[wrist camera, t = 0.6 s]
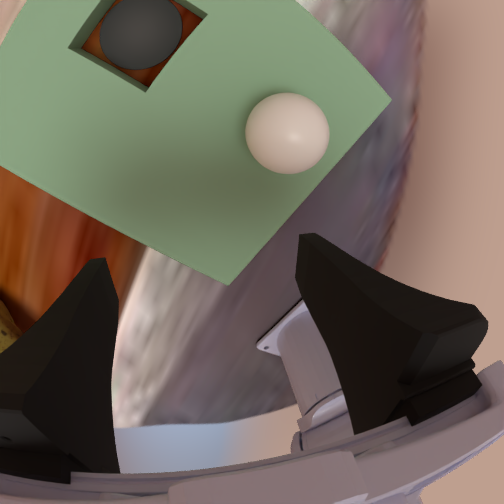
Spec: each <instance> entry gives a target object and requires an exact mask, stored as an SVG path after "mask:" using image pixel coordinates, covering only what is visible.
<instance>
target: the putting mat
mask: <svg viewBox="0 0 504 504" xmlns="http://www.w3.org/2000/svg"><path fill="white" fill-rule="evenodd" d="M115 1H116V0H27V2H26V3H25V5H24V6H23V8H22V9H21V11H20V13H19V14H18V16H17V18H16V19H15V21H14V23H13V24H12V26H11V28H10V30H9V31H8V33H7V35H6V37H5V39H4V41H3V43H2V44H1V46H0V166H2V167H4V168H6V169H7V170H9V171H11V172H12V173H14V174H16V175H18V176H19V177H21V178H23V179H24V180H26V181H28V182H30V183H31V184H33V185H35V186H37V187H39V188H40V189H42V190H44V191H46V192H47V193H49V194H51V195H53V196H55V197H56V198H58V199H60V200H62V201H64V202H65V203H67V204H69V205H71V206H73V207H75V208H76V209H78V210H80V211H82V212H84V213H86V214H87V215H89V216H91V217H93V218H95V219H97V220H99V221H101V222H102V223H104V224H106V225H108V226H110V227H112V228H114V229H116V230H118V231H119V232H121V233H123V234H125V235H127V236H129V237H131V238H133V239H135V240H137V241H139V242H141V243H143V244H145V245H147V246H148V247H150V248H152V249H154V250H156V251H158V252H160V253H162V254H164V255H166V256H168V257H170V258H172V259H174V260H176V261H178V262H180V263H182V264H184V265H186V266H188V267H190V268H192V269H194V270H196V271H198V272H200V273H202V274H204V275H207V276H209V277H211V278H213V279H215V280H217V281H219V282H221V283H223V284H225V285H227V286H229V285H230V284H231V282H232V281H233V280H234V279H235V278H236V277H237V276H238V274H239V273H240V272H241V271H242V270H243V269H244V268H245V267H246V265H247V264H248V263H249V262H250V261H251V260H252V259H253V258H254V256H255V255H256V254H257V253H258V252H259V251H260V250H261V249H262V247H263V246H264V245H265V244H266V243H267V242H268V241H269V240H270V238H271V237H272V236H273V235H274V234H275V233H276V232H277V230H278V229H279V228H280V227H281V226H282V225H283V224H284V223H285V221H286V220H287V219H288V218H289V217H290V216H291V215H292V213H293V212H294V211H295V210H296V209H297V208H298V207H299V206H300V204H301V203H302V202H303V201H304V200H305V199H306V198H307V196H308V195H309V194H310V193H311V192H312V191H313V190H314V189H315V187H316V186H317V185H318V184H319V183H320V182H321V181H322V179H323V178H324V177H325V176H326V175H327V174H328V173H329V171H330V170H331V169H332V168H333V167H334V166H335V165H336V163H337V162H338V161H339V160H340V159H341V158H342V157H343V156H344V154H345V153H346V152H347V151H348V150H349V149H350V148H351V146H352V145H353V144H354V143H355V142H356V141H357V140H358V138H359V137H360V136H361V135H362V134H363V133H364V132H365V130H366V129H367V128H368V127H369V126H370V125H371V124H372V122H373V121H374V120H375V119H376V118H377V117H378V116H379V114H380V113H381V112H382V111H383V110H384V109H385V108H386V106H387V105H388V104H389V103H390V102H391V101H392V100H391V98H390V97H389V96H388V95H387V94H386V92H385V91H384V90H383V89H382V88H381V86H380V85H379V84H378V83H377V82H376V80H375V79H374V78H373V77H372V76H371V75H370V74H369V72H368V71H367V70H366V69H365V68H364V67H363V66H362V65H361V63H360V62H359V61H358V60H357V59H356V58H355V57H354V56H353V55H352V54H351V53H350V52H349V51H348V50H347V49H346V48H345V47H344V45H343V44H342V43H341V42H340V41H339V40H338V39H337V38H336V37H335V36H334V35H333V34H331V33H330V32H329V31H328V30H327V29H326V28H325V27H324V26H323V25H322V24H321V23H320V22H319V21H318V20H317V19H316V18H315V17H313V16H312V15H311V14H310V13H309V12H308V11H307V10H306V9H304V8H303V7H302V6H301V5H300V4H299V3H298V2H296V1H295V0H174V1H175V2H177V3H179V4H180V5H182V6H183V7H185V8H187V9H188V10H190V11H191V12H193V13H194V14H196V15H197V16H199V17H201V18H202V19H204V20H203V21H202V22H201V23H200V24H199V25H198V26H197V27H196V29H195V30H194V31H193V32H192V33H191V34H190V36H189V37H188V38H187V39H186V40H185V42H184V43H183V44H182V45H181V46H180V48H179V49H178V50H177V51H176V53H175V54H174V55H173V56H172V58H171V59H170V60H169V62H168V63H167V64H166V65H165V67H164V68H163V69H162V71H161V72H160V73H159V75H158V76H157V77H156V79H155V80H154V82H153V83H152V84H151V86H150V87H149V88H148V87H147V86H145V85H143V84H142V83H140V82H138V81H137V80H135V79H133V78H132V77H130V76H128V75H127V74H125V73H123V72H122V71H120V70H118V69H116V68H115V67H113V66H111V65H110V64H108V63H106V62H104V61H103V60H101V59H99V58H97V57H95V56H94V55H92V54H90V53H88V52H86V51H85V50H83V49H81V48H82V46H83V45H84V43H85V42H86V40H87V39H88V37H89V36H90V34H91V33H92V31H93V30H94V29H95V27H96V26H97V24H98V23H99V22H100V20H101V19H102V18H103V16H104V15H105V14H106V12H107V11H108V10H109V8H110V7H111V6H112V4H113V3H114V2H115ZM181 34H182V21H181V17H180V14H179V12H178V10H177V9H176V7H175V6H174V5H173V4H172V3H171V2H170V1H168V0H123V1H121V2H119V3H118V4H117V5H115V6H114V7H113V8H112V9H111V10H110V11H109V13H108V14H107V15H106V17H105V19H104V21H103V23H102V26H101V29H100V44H101V48H102V50H103V52H104V54H105V55H106V57H107V58H108V59H109V60H110V61H111V62H113V63H114V64H115V65H117V66H120V67H122V68H126V69H133V70H138V69H145V68H149V67H152V66H154V65H157V64H159V63H160V62H162V61H163V60H165V59H166V58H167V57H168V56H170V54H171V53H172V52H173V51H174V50H175V48H176V47H177V45H178V43H179V40H180V38H181ZM277 93H296V94H300V95H302V96H305V97H307V98H308V99H310V100H312V101H313V102H314V103H316V104H317V105H318V107H319V108H320V109H321V110H322V112H323V113H324V115H325V117H326V119H327V122H328V125H329V133H330V134H329V143H328V147H327V149H326V151H325V153H324V155H323V157H322V158H321V159H320V160H319V161H318V162H317V164H315V165H314V166H313V167H311V168H310V169H308V170H306V171H303V172H300V173H296V174H281V173H276V172H273V171H271V170H269V169H267V168H265V167H263V166H262V165H261V164H260V163H259V162H258V161H257V160H256V159H255V158H254V157H253V155H252V154H251V152H250V150H249V148H248V146H247V142H246V136H245V129H246V123H247V120H248V117H249V115H250V113H251V111H252V110H253V109H254V107H255V106H256V105H257V104H258V103H259V102H260V101H262V100H263V99H265V98H266V97H269V96H271V95H274V94H277Z"/></svg>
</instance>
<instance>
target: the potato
mask: <svg viewBox="0 0 504 504" xmlns="http://www.w3.org/2000/svg"><path fill="white" fill-rule="evenodd" d="M23 334H24V333H23V332H22V331H21V330H20V329H19V328H18V327H17V326H16V325H15V323H14V321H13V319H12V317H11V315H10V313H9V311H8V309H7V307H6V306H5V304H4V303H3V302H2V301H1V300H0V353H2V352H3V351H4V350H5V349H7V348H8V347H9V346H10V345H12V344H13V343H14V342H15V341H16V340H17V339H18V338H20V337H21V336H22V335H23Z"/></svg>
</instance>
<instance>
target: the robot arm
mask: <svg viewBox="0 0 504 504" xmlns="http://www.w3.org/2000/svg"><path fill="white" fill-rule="evenodd" d="M295 278H296V281H297V284H298V287H299V290H300V293H301V296H302V300H301V301H300V302H299V303H298V304H297V305H296V306H295V307H294V308H293V309H292V310H291V311H290V312H289V313H288V314H287V315H286V316H285V317H284V318H283V319H282V320H281V321H280V322H279V323H278V324H277V325H276V326H275V327H273V328H272V329H271V330H270V331H269V332H268V333H267V334H266V335H265V336H264V337H263V338H262V339H261V340H260V341H259V342H258V343H257V348H258V349H260V350H263V351H266V352H269V353H272V354H275V355H278V356H281V359H282V362H283V364H284V367H285V370H286V373H287V376H288V378H289V381H290V384H291V387H292V390H293V392H294V395H295V398H296V401H297V403H298V406H299V409H300V412H301V415H302V418H300V419H298V420H297V423H298V426H299V429H300V431H299V432H296V433H295V434H294V436H293V440H292V443H291V454H287V455H283V456H278V457H274V458H269V459H264V460H259V461H254V462H248V463H243V464H237V465H230V466H224V467H216V468H209V469H200V470H191V471H179V472H165V473H141V474H120V468H119V463H118V458H117V452H116V445H115V436H114V428H113V415H112V395H111V378H112V367H113V358H114V350H115V343H116V335H117V328H118V308H119V299H118V296H117V293H116V290H115V287H114V284H113V281H112V278H111V275H110V271H109V268H108V265H107V261H106V258H97V259H90V260H89V261H88V262H87V263H86V265H85V266H84V267H83V268H82V269H81V270H80V272H79V273H78V274H77V275H76V277H75V278H74V279H73V280H72V282H71V283H70V284H69V285H68V286H67V288H66V289H65V290H64V291H63V293H62V294H61V295H60V296H59V297H58V298H57V300H56V301H55V302H54V303H53V304H52V305H51V307H50V308H49V309H48V310H47V311H46V312H45V313H44V314H43V316H42V317H41V318H40V319H39V320H38V321H37V322H36V323H35V324H34V325H33V326H32V327H31V328H30V329H29V330H28V331H26V332H25V333H24V334H23V335H22V336H21V337H20V338H18V339H17V340H16V341H15V342H14V343H13V344H12V345H10V346H9V347H8V348H7V349H5V350H4V351H3V352H2V353H0V504H423V503H422V501H421V498H420V496H419V495H420V493H421V491H422V490H423V488H424V487H426V486H428V485H429V484H431V483H433V482H435V481H436V480H438V479H440V478H442V477H443V476H445V475H446V474H448V473H450V472H451V471H453V470H455V469H456V468H458V467H459V466H461V465H462V464H464V463H465V462H467V461H468V460H470V459H471V458H473V457H474V456H476V455H477V454H479V453H480V452H482V451H483V450H484V449H486V448H487V447H488V446H490V445H491V444H493V443H494V442H495V441H497V440H498V439H499V438H500V437H501V436H503V435H504V364H503V363H502V361H501V360H500V361H497V362H495V363H494V364H492V365H490V366H488V367H487V368H485V369H483V370H482V371H481V372H479V373H478V374H477V375H476V374H475V373H474V372H473V370H472V369H473V368H474V367H475V363H474V361H473V360H472V359H471V357H472V356H473V354H474V353H475V351H476V350H477V348H478V347H479V345H480V344H481V342H482V341H483V339H484V337H485V335H486V333H487V330H488V321H487V320H486V318H485V317H484V316H483V315H482V313H481V312H480V311H479V310H478V308H477V307H476V306H475V305H472V304H467V303H463V302H458V301H454V300H449V299H445V298H442V297H439V296H435V295H432V294H429V293H426V292H422V291H420V290H418V289H415V288H412V287H410V286H407V285H405V284H403V283H400V282H398V281H395V280H394V279H392V278H390V277H388V276H385V275H383V274H382V273H380V272H378V271H376V270H374V269H372V268H371V267H369V266H367V265H365V264H364V263H362V262H360V261H359V260H357V259H355V258H354V257H352V256H351V255H349V254H348V253H346V252H344V251H343V250H341V249H340V248H338V247H337V246H335V245H334V244H332V243H331V242H329V241H328V240H326V239H324V238H323V237H321V236H319V235H318V234H316V233H308V234H299V244H298V254H297V264H296V274H295Z"/></svg>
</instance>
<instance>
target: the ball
mask: <svg viewBox="0 0 504 504" xmlns="http://www.w3.org/2000/svg"><path fill="white" fill-rule="evenodd" d="M329 134H330V133H329V125H328V122H327V119H326V117H325V115H324V113H323V112H322V110H321V109H320V108H319V107H318V105H317V104H316V103H314V102H313V101H312V100H310V99H308V98H307V97H305V96H302V95H300V94H296V93H277V94H274V95H271V96H269V97H266V98H265V99H263V100H262V101H260V102H259V103H258V104H257V105H256V106H255V107H254V109H253V110H252V111H251V113H250V115H249V117H248V120H247V123H246V129H245V136H246V142H247V146H248V148H249V150H250V152H251V154H252V155H253V157H254V158H255V159H256V160H257V161H258V162H259V163H260V164H261V165H262V166H263V167H265V168H267V169H269V170H271V171H273V172H276V173H281V174H296V173H300V172H303V171H306V170H308V169H310V168H311V167H313V166H314V165H315V164H317V162H318V161H319V160H320V159H321V158H322V157H323V155H324V153H325V151H326V149H327V147H328V143H329Z"/></svg>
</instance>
